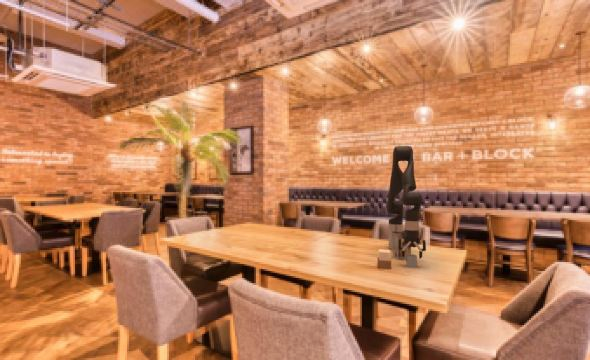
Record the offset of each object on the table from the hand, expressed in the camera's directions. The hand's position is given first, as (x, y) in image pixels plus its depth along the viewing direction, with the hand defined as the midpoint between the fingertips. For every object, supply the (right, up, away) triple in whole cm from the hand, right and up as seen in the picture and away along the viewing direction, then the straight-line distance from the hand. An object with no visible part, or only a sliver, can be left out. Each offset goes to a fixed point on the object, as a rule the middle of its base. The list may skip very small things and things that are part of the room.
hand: (411, 257), depth 164 cm
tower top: (-15, 0, -1) cm, 16 cm away
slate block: (0, -5, 0) cm, 5 cm away
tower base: (-16, -5, -1) cm, 16 cm away
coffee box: (0, -5, +17) cm, 18 cm away
